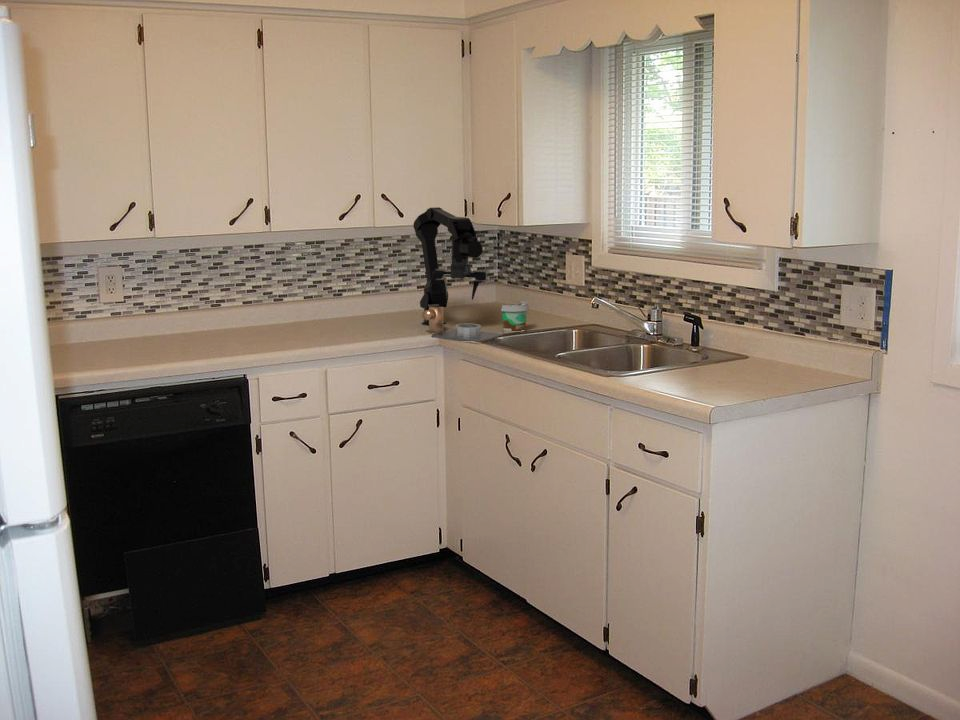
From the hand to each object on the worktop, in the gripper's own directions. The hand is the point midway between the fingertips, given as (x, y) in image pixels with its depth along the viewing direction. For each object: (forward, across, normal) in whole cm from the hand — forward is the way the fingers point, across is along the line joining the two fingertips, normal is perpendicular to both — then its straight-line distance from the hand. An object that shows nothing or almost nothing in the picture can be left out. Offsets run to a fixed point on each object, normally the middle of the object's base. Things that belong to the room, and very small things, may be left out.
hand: (459, 298), depth 348 cm
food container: (+12, +21, +4) cm, 24 cm away
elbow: (+12, -9, -2) cm, 15 cm away
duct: (+12, +4, -8) cm, 15 cm away
